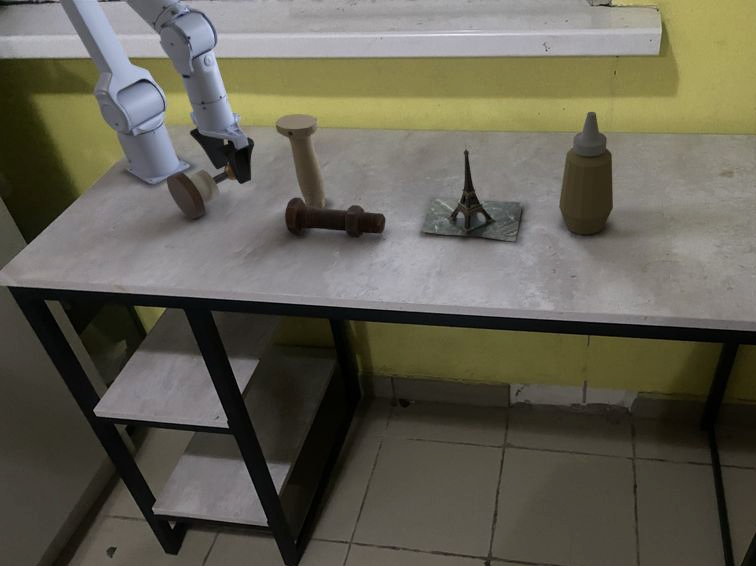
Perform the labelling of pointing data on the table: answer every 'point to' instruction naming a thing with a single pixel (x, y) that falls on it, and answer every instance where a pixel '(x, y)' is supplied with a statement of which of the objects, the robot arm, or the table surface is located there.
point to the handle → (304, 156)
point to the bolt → (332, 219)
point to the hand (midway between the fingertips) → (233, 173)
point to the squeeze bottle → (587, 181)
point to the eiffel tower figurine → (473, 214)
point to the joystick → (196, 189)
